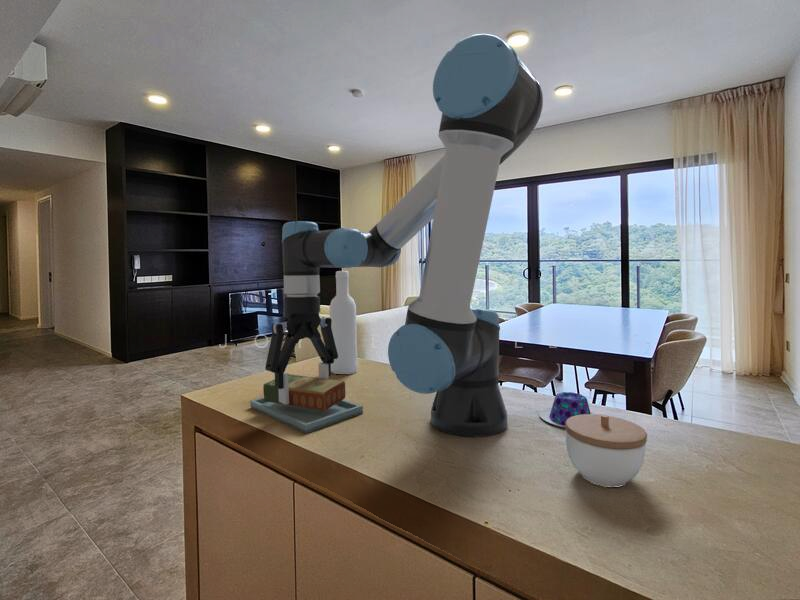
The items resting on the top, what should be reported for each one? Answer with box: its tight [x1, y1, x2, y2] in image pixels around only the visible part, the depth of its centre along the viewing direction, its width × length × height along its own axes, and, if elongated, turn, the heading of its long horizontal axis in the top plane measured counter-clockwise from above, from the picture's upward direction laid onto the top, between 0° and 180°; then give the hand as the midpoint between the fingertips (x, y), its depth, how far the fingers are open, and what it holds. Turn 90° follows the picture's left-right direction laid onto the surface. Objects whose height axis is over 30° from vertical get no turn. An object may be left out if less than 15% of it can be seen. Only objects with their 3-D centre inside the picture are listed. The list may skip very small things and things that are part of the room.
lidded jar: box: [564, 413, 648, 487], centre depth 61 cm, size 11×11×9 cm
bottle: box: [329, 270, 358, 375], centre depth 123 cm, size 8×8×30 cm
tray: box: [249, 396, 364, 434], centre depth 91 cm, size 22×14×2 cm
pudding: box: [539, 391, 595, 428], centre depth 84 cm, size 12×12×5 cm
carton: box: [262, 373, 346, 411], centre depth 91 cm, size 8×16×4 cm, turn 66°
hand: (304, 396), depth 91 cm, fingers closed on carton, 10 cm apart
